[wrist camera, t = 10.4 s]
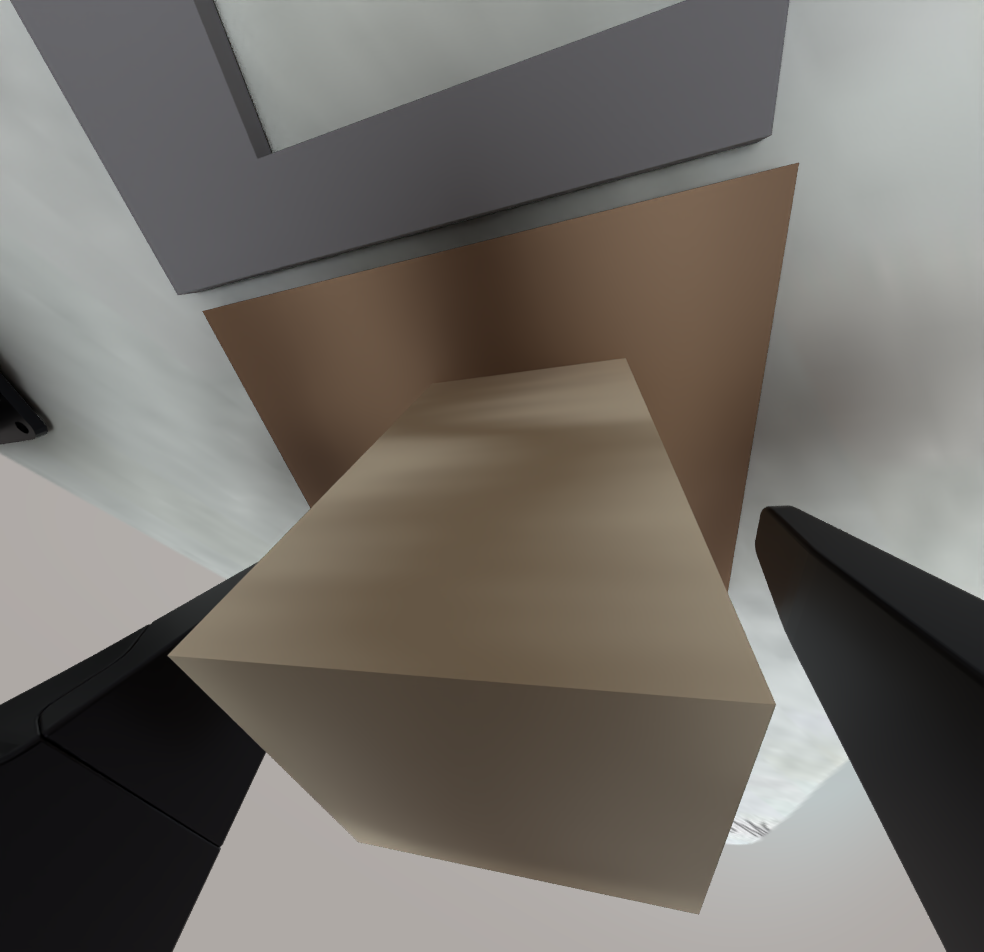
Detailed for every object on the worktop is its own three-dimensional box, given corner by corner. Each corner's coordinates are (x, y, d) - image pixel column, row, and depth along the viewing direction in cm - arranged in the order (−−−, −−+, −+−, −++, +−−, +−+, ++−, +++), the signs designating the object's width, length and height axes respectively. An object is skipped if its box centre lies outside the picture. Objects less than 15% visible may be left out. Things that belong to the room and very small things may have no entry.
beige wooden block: (470, 526, 13) (358, 842, 6) (432, 383, 10) (167, 655, 4) (626, 521, 11) (699, 915, 5) (625, 357, 9) (776, 704, 2)
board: (369, 593, 17) (363, 604, 16) (219, 307, 11) (202, 311, 10) (718, 596, 13) (724, 610, 13) (783, 167, 7) (799, 162, 7)
